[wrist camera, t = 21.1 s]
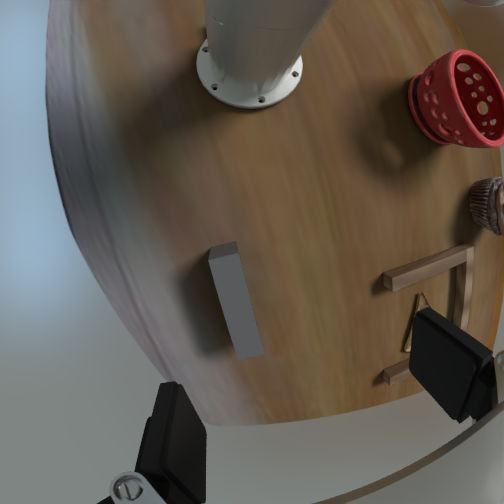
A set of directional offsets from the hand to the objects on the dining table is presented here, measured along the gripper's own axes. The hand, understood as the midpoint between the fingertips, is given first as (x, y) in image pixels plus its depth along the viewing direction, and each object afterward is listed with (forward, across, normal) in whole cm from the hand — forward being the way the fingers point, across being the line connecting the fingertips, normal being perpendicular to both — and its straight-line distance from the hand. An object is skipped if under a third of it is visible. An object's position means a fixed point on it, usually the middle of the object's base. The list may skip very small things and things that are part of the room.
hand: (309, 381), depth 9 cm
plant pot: (+24, -31, -14) cm, 42 cm away
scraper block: (+24, +3, +5) cm, 25 cm away
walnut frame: (+24, -25, +18) cm, 39 cm away
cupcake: (+24, -41, +2) cm, 48 cm away
